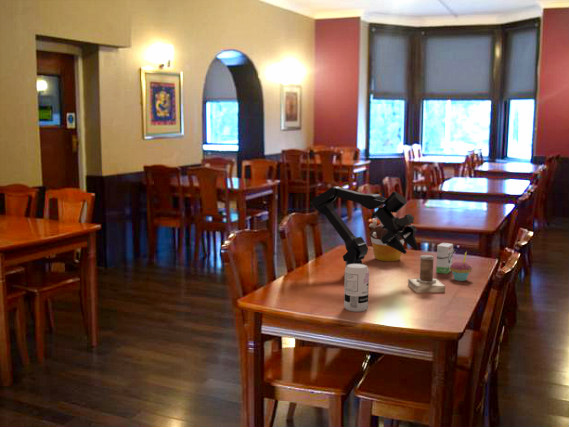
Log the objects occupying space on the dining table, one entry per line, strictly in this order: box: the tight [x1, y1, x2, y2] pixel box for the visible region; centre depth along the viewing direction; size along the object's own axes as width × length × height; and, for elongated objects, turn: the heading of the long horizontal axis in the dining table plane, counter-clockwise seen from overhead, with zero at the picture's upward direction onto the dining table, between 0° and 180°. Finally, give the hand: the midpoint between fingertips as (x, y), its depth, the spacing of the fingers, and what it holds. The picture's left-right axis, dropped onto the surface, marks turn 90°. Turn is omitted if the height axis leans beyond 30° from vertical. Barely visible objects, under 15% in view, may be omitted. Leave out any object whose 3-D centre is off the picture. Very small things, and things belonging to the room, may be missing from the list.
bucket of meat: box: [368, 220, 412, 263], centre depth 294 cm, size 20×16×20 cm
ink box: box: [435, 242, 454, 275], centre depth 272 cm, size 9×5×12 cm, turn 150°
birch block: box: [407, 278, 446, 293], centre depth 244 cm, size 11×11×3 cm
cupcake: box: [450, 250, 473, 282], centre depth 258 cm, size 9×8×12 cm
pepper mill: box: [416, 254, 436, 284], centre depth 244 cm, size 5×5×10 cm
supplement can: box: [343, 263, 370, 313], centre depth 216 cm, size 8×8×15 cm
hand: (411, 251), depth 247 cm, fingers open, 9 cm apart
